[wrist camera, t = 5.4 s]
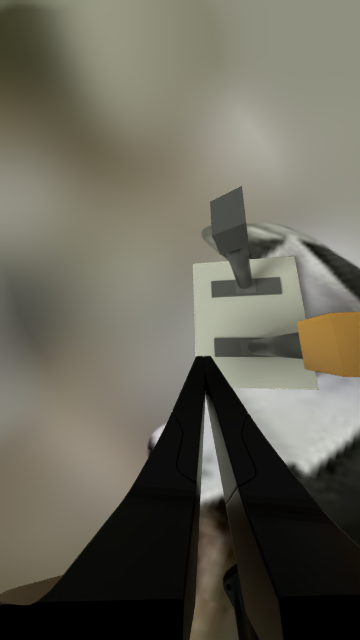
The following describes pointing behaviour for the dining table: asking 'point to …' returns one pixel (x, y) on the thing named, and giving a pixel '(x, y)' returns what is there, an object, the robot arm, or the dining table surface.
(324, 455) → the dining table surface
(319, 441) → the dining table surface
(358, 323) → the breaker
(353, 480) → the dining table surface
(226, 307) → the breaker panel
